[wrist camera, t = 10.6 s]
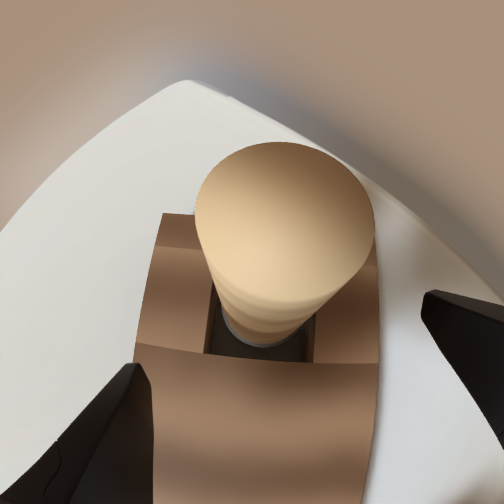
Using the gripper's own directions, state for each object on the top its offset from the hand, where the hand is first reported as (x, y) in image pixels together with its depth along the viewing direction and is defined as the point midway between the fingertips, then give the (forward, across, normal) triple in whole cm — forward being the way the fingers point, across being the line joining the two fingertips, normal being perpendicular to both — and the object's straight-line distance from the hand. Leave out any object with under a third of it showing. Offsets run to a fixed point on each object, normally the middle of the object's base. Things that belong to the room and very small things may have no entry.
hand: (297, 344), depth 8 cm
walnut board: (+5, +2, +9) cm, 10 cm away
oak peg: (+9, 0, +5) cm, 10 cm away
